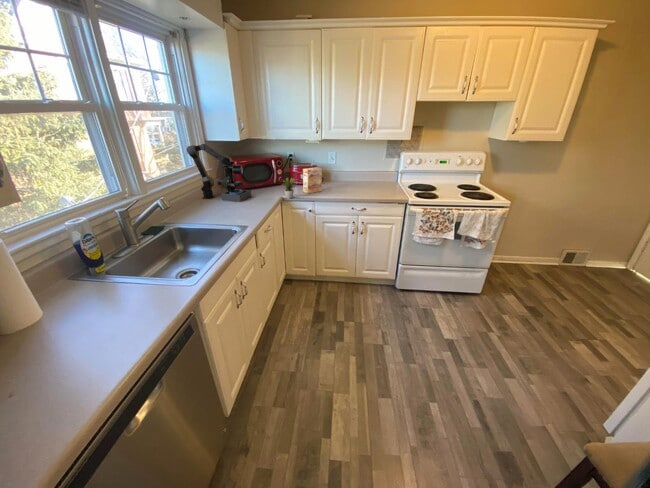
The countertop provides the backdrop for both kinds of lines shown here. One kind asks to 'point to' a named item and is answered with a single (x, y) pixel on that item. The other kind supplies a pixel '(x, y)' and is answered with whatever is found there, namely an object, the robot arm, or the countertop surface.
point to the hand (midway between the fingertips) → (231, 194)
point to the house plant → (289, 188)
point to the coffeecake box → (312, 180)
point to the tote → (236, 196)
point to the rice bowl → (237, 192)
